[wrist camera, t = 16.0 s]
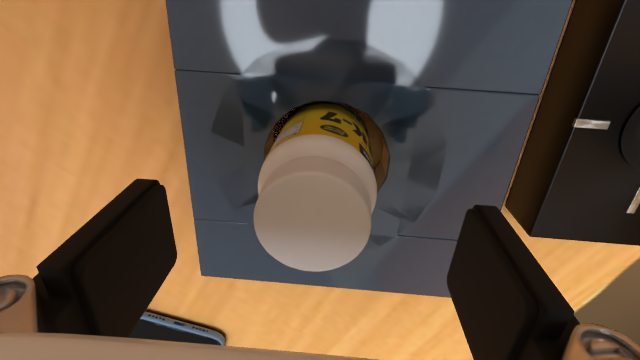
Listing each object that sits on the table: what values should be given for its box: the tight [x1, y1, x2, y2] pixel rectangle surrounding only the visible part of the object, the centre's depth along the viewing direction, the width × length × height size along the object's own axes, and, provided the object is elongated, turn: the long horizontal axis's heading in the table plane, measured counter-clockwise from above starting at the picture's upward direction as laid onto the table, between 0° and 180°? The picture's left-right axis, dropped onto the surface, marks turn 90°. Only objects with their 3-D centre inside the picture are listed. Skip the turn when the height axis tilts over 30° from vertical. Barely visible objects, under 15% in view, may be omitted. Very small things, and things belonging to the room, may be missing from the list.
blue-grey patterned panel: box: [166, 0, 573, 298], centre depth 17 cm, size 18×16×2 cm
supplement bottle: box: [254, 101, 377, 272], centre depth 15 cm, size 5×5×8 cm
